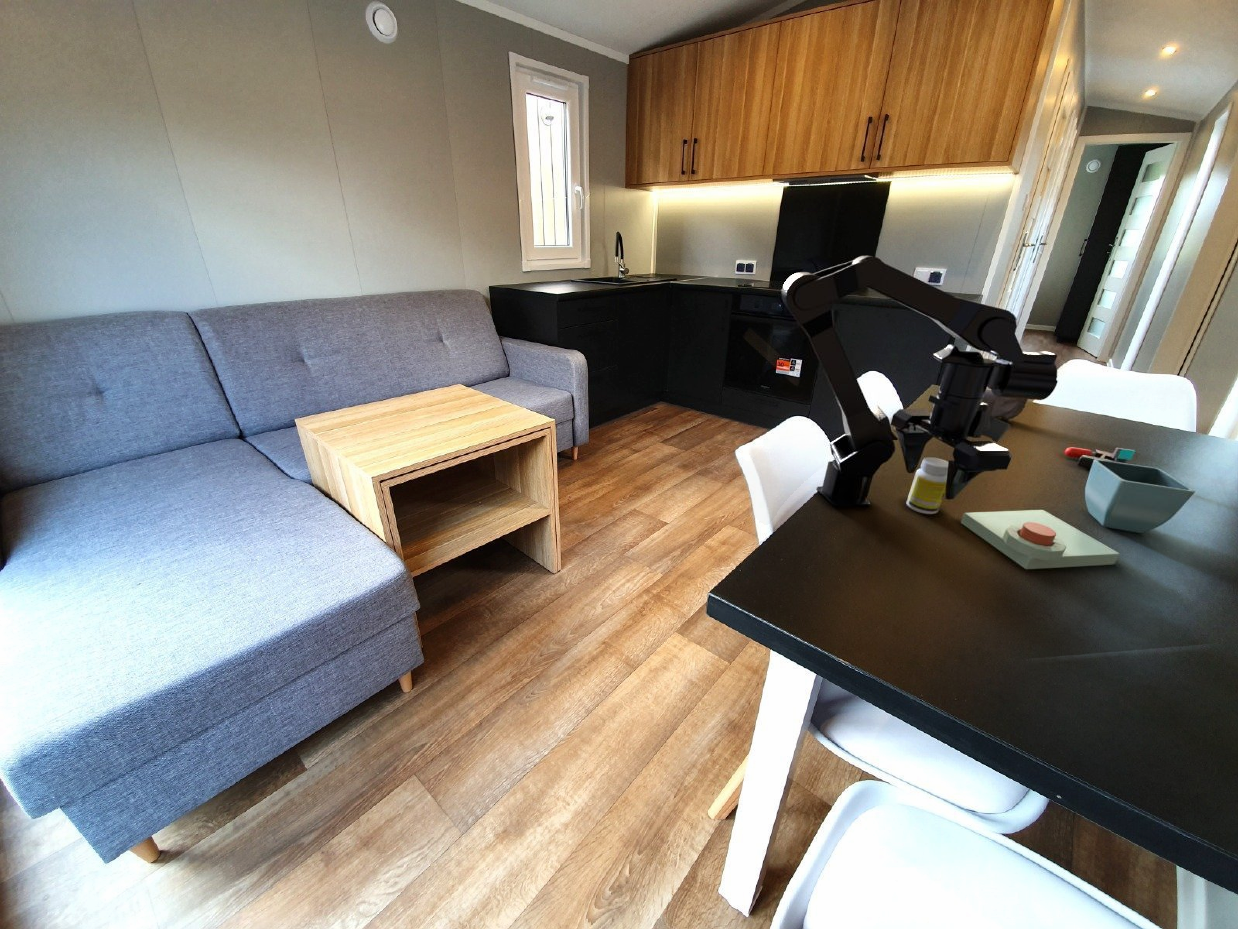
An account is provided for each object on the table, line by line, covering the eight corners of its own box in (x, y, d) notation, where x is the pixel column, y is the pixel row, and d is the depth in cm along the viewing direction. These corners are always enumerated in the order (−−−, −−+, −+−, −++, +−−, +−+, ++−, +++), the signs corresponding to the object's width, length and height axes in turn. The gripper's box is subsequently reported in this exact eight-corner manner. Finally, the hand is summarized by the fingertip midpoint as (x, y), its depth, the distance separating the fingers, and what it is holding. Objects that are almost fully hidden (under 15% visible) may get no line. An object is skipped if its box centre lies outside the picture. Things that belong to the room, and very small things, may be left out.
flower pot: (1132, 515, 82) (1159, 467, 78) (1166, 543, 74) (1198, 491, 70) (1069, 505, 84) (1092, 458, 80) (1095, 531, 76) (1122, 480, 73)
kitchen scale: (1025, 573, 66) (1035, 552, 65) (955, 523, 78) (963, 503, 76) (1119, 568, 68) (1131, 547, 66) (1038, 519, 79) (1046, 500, 78)
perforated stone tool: (947, 410, 130) (956, 385, 127) (952, 406, 134) (961, 381, 131) (1016, 425, 121) (1027, 398, 118) (1019, 420, 124) (1030, 394, 121)
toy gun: (1129, 463, 102) (1140, 442, 99) (1119, 479, 94) (1131, 456, 92) (1069, 448, 108) (1079, 428, 106) (1057, 462, 101) (1066, 440, 99)
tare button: (1034, 547, 66) (1039, 536, 65) (1012, 532, 69) (1017, 522, 69) (1058, 546, 67) (1063, 535, 66) (1034, 531, 70) (1039, 521, 69)
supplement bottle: (942, 516, 79) (959, 470, 76) (911, 512, 80) (926, 466, 76) (931, 502, 83) (947, 457, 80) (901, 498, 84) (916, 454, 81)
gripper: (1066, 413, 66) (1021, 513, 73) (962, 376, 83) (933, 460, 89) (992, 414, 65) (953, 515, 71) (901, 376, 81) (877, 461, 88)
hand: (928, 485), depth 80 cm, fingers open, 9 cm apart
